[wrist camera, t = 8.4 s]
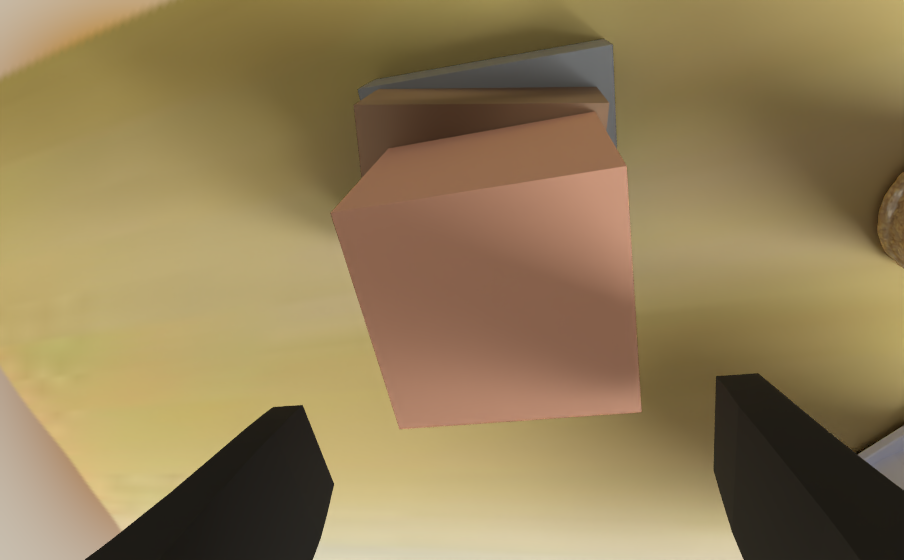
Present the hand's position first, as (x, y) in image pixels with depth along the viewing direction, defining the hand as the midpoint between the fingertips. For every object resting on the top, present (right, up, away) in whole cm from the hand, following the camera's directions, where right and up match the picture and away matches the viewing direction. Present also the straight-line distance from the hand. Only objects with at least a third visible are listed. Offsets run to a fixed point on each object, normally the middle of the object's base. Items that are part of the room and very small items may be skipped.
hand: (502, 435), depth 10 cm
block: (0, +4, +4) cm, 6 cm away
